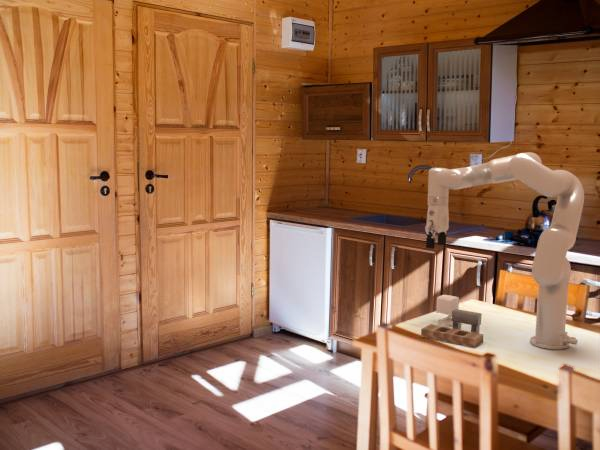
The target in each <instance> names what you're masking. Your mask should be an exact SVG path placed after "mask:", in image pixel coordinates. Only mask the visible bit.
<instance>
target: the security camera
mask: <svg viewBox="0 0 600 450" xmlns="http://www.w3.org/2000/svg"><path fill="white" fill-rule="evenodd" d="M459 306H460V297H459V296H456V295H455V296H454V295H450V294H449V295H448V294H442V295H440V296H439V295H438V296H437V297H436V306H435V307H436V309H435V313H436V314H442V315H447V316H446V317H443V318H441V319H439V323H440V324H443V325H446V326H447V325H448V326H451V327H453V321H452V310H454V309H459V310H460V307H459Z"/></svg>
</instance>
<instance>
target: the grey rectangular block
mask: <svg viewBox="0 0 600 450" xmlns="http://www.w3.org/2000/svg"><path fill="white" fill-rule="evenodd" d="M451 318H452V321H453V326H452V328H454V329H459V330H462V324H463V325H464V324H465V325H470V332H475V333H480V325H482V313H481V312H476V311H470V310H464V309H460V308H459V309H454V310H452V317H451Z"/></svg>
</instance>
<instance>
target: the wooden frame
mask: <svg viewBox="0 0 600 450" xmlns="http://www.w3.org/2000/svg"><path fill="white" fill-rule="evenodd" d="M420 337H421V338H423V337H425V338H424V339H428V338H429V340H435V341H440V342H442V343H443V342H444V343H449V344H454V345H459V346H462V347H463V346H464V347H468V348H473V349H475V348H477V347H478V346H480V345H482V344H483V343H484V334H483V333H480V332H479V333H475V332H471V330H470V331H469V330H463V329H461V330H459V329H454V328H453V327H449V326H441V325H438V324H431V323H430V324H428V325H426V326H424V327H423V328H421V330H420Z"/></svg>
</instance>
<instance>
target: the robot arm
mask: <svg viewBox="0 0 600 450" xmlns="http://www.w3.org/2000/svg"><path fill="white" fill-rule="evenodd" d="M516 180H517V181H520V182H521V183H522V184H524V185H526V186H527V187H529V188H531V189H532V190H534V191H536V192H537V193H538V194H541V195H543V196H544V197H547V198H556V197H557V201H556V204H555V207H554V209H553V216H552V218H551V222H550V226H548V227H546V228H545V229H544V230H543V231H542V232H541V234H540V236H539V238H538V240H537V244H536V245H537V246H536V249H535V254H534V258H533V261H532V267H531V276H532V278H533V280H534V282H535V283H537V285H538V289H537V301H536V302H537V304H536V316H535V317H536V320H535V322H536V323H535V334H534V336H532V337H530V341H529V342H530V344H531V345H532V346H535V347H538V348H542V349H545V348H546V350H565V349H567V348H569V347H570V344H571V345H575V346H577V345H578V342H579V341H578V339H577V338H576V337H574V336H573V337H572V336H569V335H568V332H569V331H566V324H567V322H566V321H567V311H568V310H567V308H568V306H567V305H568V296H569V295H568V294H569V293H568V292H569V287H570V286H569V285H570V280H571V279H570V278H571V272H572V269H571V262H570V261H569V259H568V258H567V253H568V251H569V250H570V249H572V248H573V247H574V245H575V243H576V240H577V234H578V230H579V226H580V222H581V216H582V213H583V208H584V202H585V190H584V187H583V184H582V183H581V181H580V179H579V178H578V176H576V175H575V174H573V173H572V172H570V171H568V170H565V169H554V170H553V169H551V168H549V167H547V166H546V165H544V164H543V161H542V159H541V157H540V156H539V155H538V154H537V153H535V152H531V151H530V152H528V151H527V152H520V153H517V154H514V155H508V156H503V157H499V158H494V159H491V160H490V161H488V162H486V163H481V164H480V163H479V164H476V165H472V166H466V167H458V168H457V167H456V168H451V169H449V168H447V167H445V168H444V167H432V168H430V169H429V170H428V181H427V183H428V184H427V214H426V225H425V227H424V230H425V231H424V232H425V233H424V234H425V239H426V240H425V242H426V243H425V248H426V249H431V250H435V248H436V246H435V245H436V238H435V236H436V233H437V245H438V246H446V245H447V235H448V230H449V228H450V227H449V225H450V223H449V222H450V218H449V217H450V216H449V215H450V212H449V191H450V190H455V191H457V190H461V189H468V188H471V187H477V186H482V185H488V184H494V185H495V184H500V183H506V182H512V181H516Z"/></svg>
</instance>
